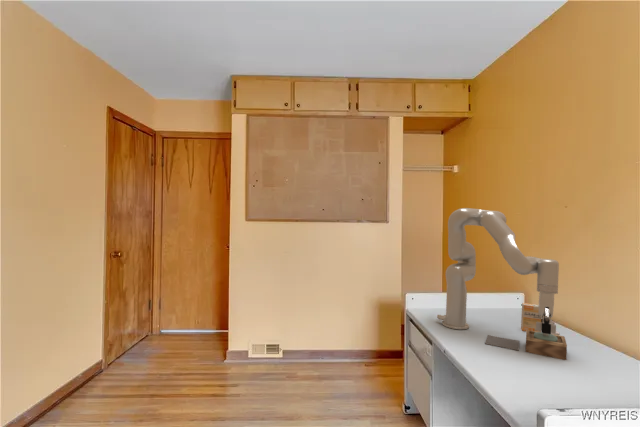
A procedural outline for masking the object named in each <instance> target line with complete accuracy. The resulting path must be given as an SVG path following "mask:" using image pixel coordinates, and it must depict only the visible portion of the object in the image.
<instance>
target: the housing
mask: <svg viewBox="0 0 640 427" xmlns="http://www.w3.org/2000/svg"><path fill="white" fill-rule="evenodd" d="M535 332H536V331H530V330H526V331H525V336H526V337H525V353H529V354H535V355H540V356H545V357H549V358H554V359H560V360H564V361H566V360H567V354H568V353H567V352H568V349H567V348H568V344H567V340H566V337H565V336H563V335H560V336H559V335H555V336H556V337H557V342H553V341H547V340H542V339H536V338H534V333H535ZM552 335H553V334H552Z"/></svg>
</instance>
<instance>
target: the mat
mask: <svg viewBox="0 0 640 427" xmlns="http://www.w3.org/2000/svg"><path fill="white" fill-rule="evenodd" d="M484 345H486V346H493V347H498V348H502V349H508V350H512V351H518V352H519V351H520V340H516V339H510V338H506V337H501V336H496V335H490V334H487V337H486V339H485V342H484Z"/></svg>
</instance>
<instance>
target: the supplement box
mask: <svg viewBox="0 0 640 427" xmlns="http://www.w3.org/2000/svg"><path fill="white" fill-rule="evenodd" d="M538 310H539V304H533V303H527V302H522V304H521V321H520V323H521V324H520V329H521V331H523V332H526V330H530V331H536V332H542V331H540V330H536V322H541V319H542V315H541V316H539V313H538Z"/></svg>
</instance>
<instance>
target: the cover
mask: <svg viewBox="0 0 640 427" xmlns="http://www.w3.org/2000/svg"><path fill="white" fill-rule="evenodd" d="M536 330H540V331H541V332H535V333H534V338H536V339H542V340H547V341H553V342H557V337H556V336H555V335H552V334H546V333H542V322H536ZM556 331H557V324H555V325H554V324H551V332H552V333H556Z"/></svg>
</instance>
